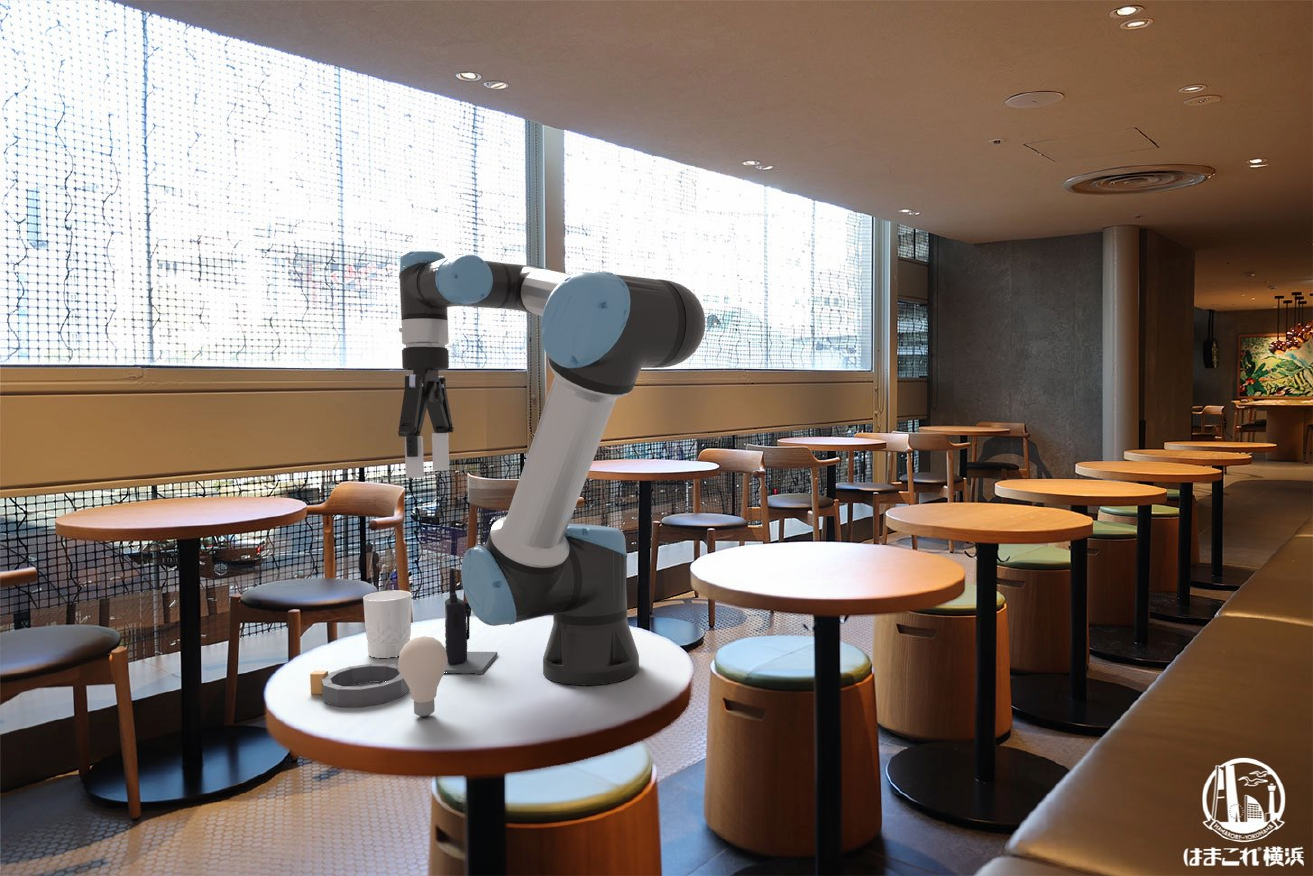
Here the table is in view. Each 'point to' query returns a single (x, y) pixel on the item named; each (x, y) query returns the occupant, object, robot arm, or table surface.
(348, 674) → the dock collar
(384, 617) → the white cup
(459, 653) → the two-way radio
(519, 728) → the table surface
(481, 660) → the mat
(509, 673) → the table surface
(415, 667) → the light bulb
